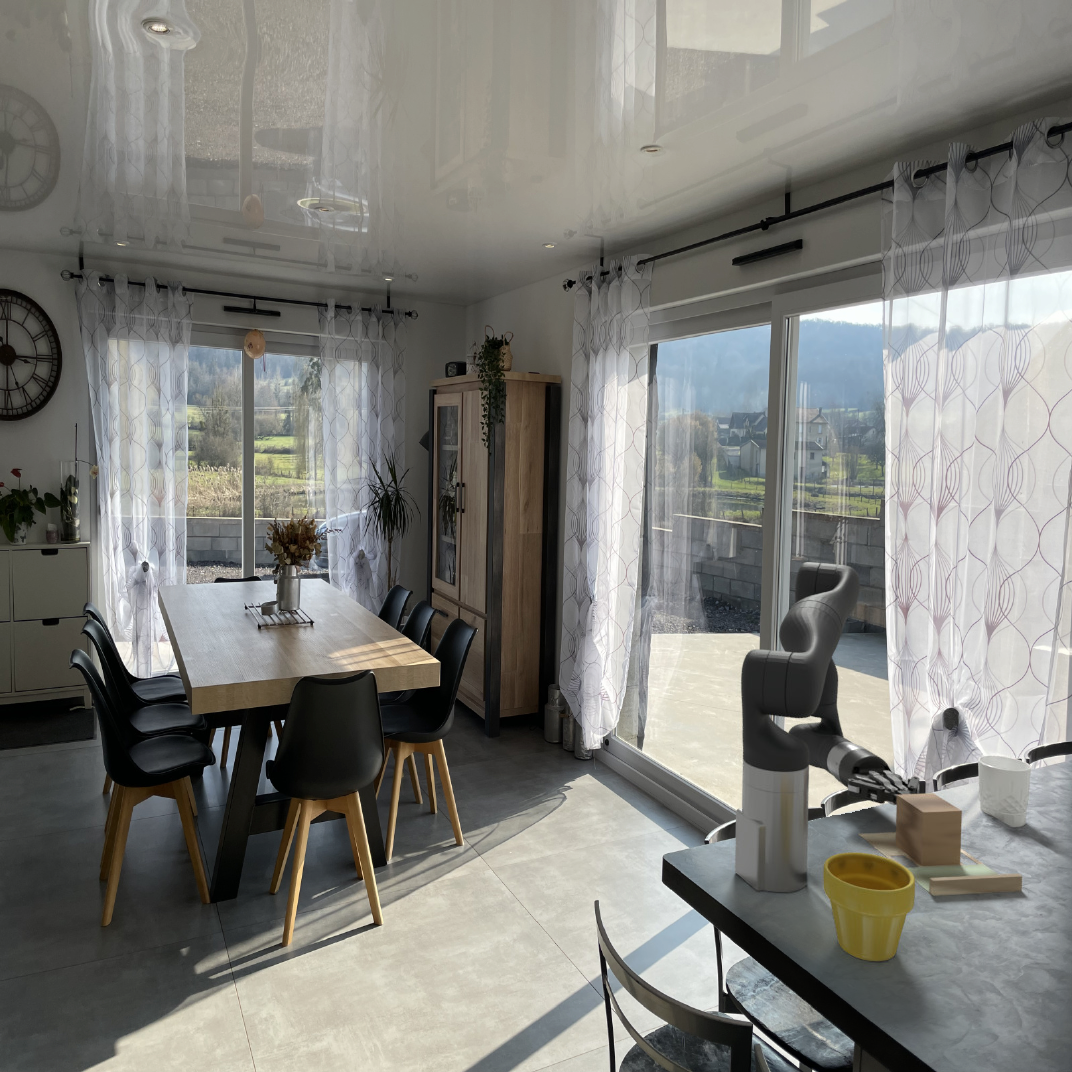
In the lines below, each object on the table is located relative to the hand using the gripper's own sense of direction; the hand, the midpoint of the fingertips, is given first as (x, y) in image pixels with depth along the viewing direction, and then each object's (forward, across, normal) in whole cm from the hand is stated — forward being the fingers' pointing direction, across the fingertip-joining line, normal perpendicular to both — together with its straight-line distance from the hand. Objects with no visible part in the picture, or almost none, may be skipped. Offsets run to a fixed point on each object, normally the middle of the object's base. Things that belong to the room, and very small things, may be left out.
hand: (914, 806), depth 125 cm
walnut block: (+4, 0, +6) cm, 7 cm away
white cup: (-11, +23, +8) cm, 27 cm away
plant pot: (+24, -21, +8) cm, 33 cm away
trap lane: (+5, 0, +8) cm, 9 cm away
